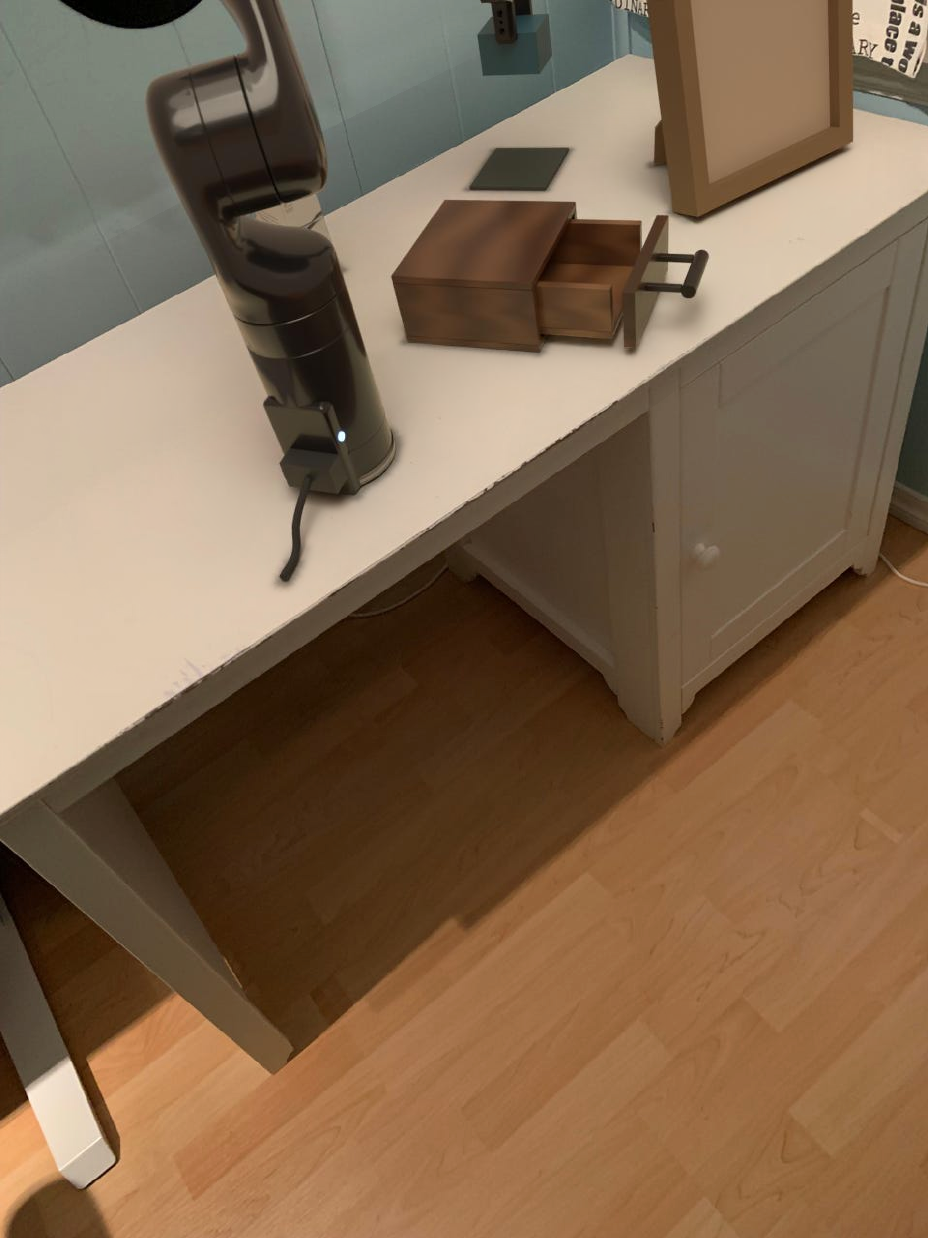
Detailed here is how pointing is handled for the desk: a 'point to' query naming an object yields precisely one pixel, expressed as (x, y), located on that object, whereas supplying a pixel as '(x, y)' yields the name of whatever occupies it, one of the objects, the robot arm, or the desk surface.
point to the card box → (517, 47)
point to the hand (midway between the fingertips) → (515, 30)
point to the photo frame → (748, 92)
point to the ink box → (297, 215)
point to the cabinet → (480, 273)
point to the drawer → (609, 278)
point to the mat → (519, 169)
